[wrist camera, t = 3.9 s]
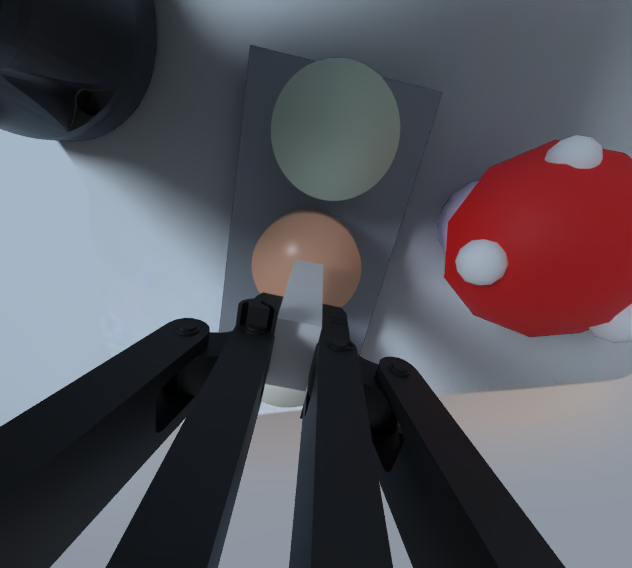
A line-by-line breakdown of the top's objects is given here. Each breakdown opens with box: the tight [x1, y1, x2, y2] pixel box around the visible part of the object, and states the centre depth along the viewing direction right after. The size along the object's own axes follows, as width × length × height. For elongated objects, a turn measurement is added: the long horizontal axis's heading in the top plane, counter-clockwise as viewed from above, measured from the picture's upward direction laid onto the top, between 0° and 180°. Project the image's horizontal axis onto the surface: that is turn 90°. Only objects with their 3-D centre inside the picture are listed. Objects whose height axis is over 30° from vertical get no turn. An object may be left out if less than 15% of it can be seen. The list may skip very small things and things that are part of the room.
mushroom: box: [437, 135, 632, 343], centre depth 18 cm, size 11×11×12 cm
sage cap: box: [271, 57, 400, 201], centre depth 17 cm, size 7×7×2 cm
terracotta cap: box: [251, 209, 361, 307], centre depth 20 cm, size 7×7×2 cm
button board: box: [219, 45, 442, 355], centre depth 24 cm, size 12×23×3 cm, turn 168°
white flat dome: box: [261, 384, 308, 407], centre depth 22 cm, size 7×7×2 cm
